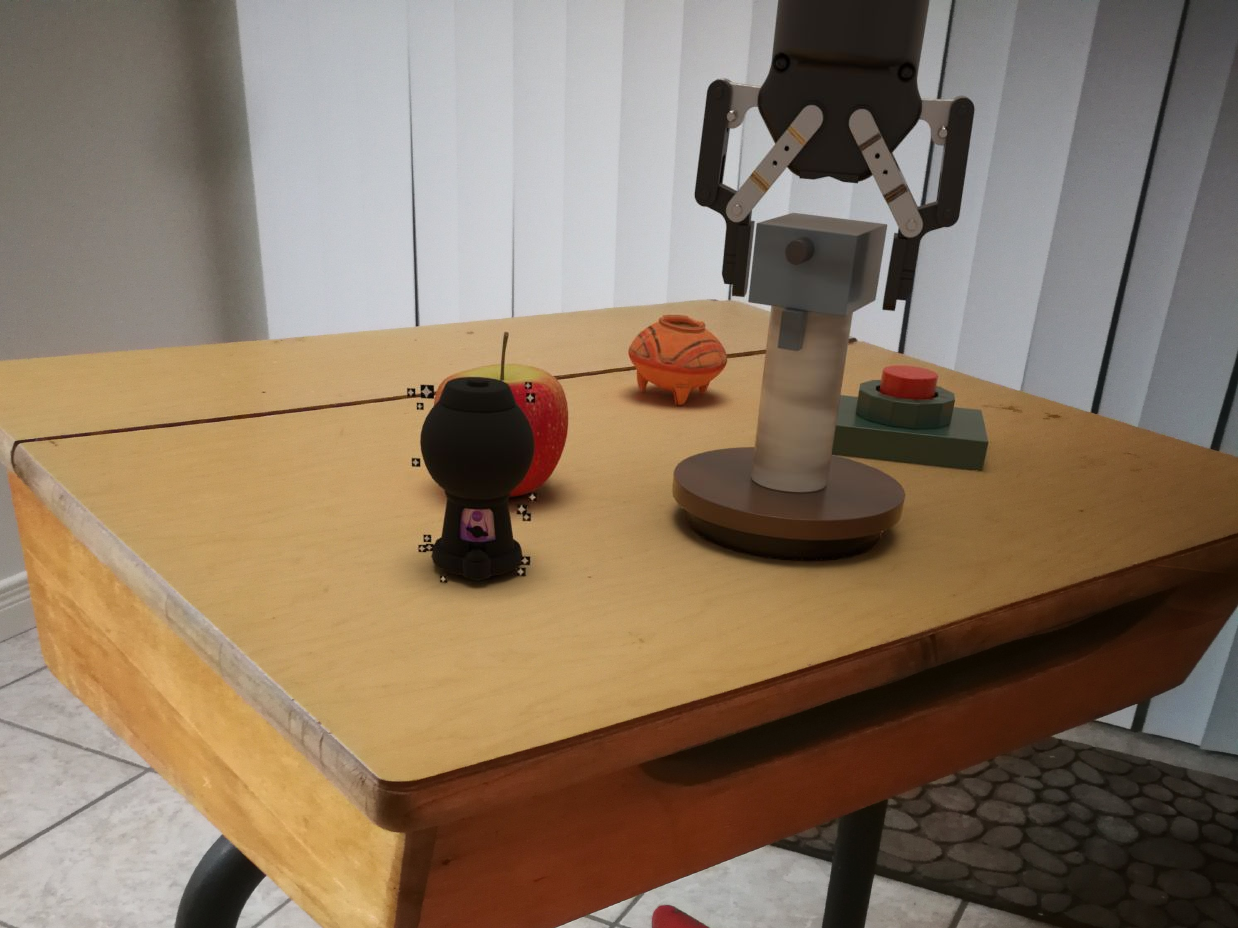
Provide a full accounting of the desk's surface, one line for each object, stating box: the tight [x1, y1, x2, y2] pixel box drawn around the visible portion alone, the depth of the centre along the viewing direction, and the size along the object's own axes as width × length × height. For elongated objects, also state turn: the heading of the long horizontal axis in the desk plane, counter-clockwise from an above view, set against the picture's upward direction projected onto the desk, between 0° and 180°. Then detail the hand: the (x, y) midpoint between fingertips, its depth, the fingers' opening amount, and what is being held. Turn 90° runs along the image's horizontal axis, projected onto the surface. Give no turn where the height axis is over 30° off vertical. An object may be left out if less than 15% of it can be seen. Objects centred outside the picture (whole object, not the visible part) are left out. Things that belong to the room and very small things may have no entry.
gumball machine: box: [406, 377, 538, 584], centre depth 67 cm, size 7×6×10 cm
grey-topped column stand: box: [671, 212, 906, 540], centre depth 73 cm, size 14×14×15 cm
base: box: [685, 511, 883, 562], centre depth 78 cm, size 12×12×1 cm
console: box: [832, 379, 989, 472], centre depth 94 cm, size 12×9×4 cm
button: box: [879, 365, 939, 400], centre depth 93 cm, size 4×4×2 cm
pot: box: [627, 314, 728, 406], centre depth 102 cm, size 8×8×7 cm
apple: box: [433, 331, 569, 498], centre depth 78 cm, size 8×8×10 cm
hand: (812, 301), depth 71 cm, fingers open, 8 cm apart
